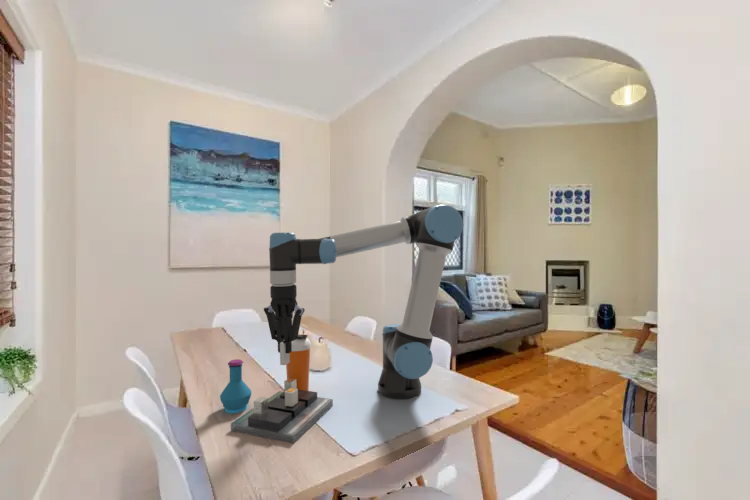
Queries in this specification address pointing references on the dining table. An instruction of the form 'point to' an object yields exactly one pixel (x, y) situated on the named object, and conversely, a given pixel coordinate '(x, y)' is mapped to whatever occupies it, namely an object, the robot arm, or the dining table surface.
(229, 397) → the perfume bottle
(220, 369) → the dining table surface
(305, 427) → the panel
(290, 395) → the breaker handle
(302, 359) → the shaker bottle
